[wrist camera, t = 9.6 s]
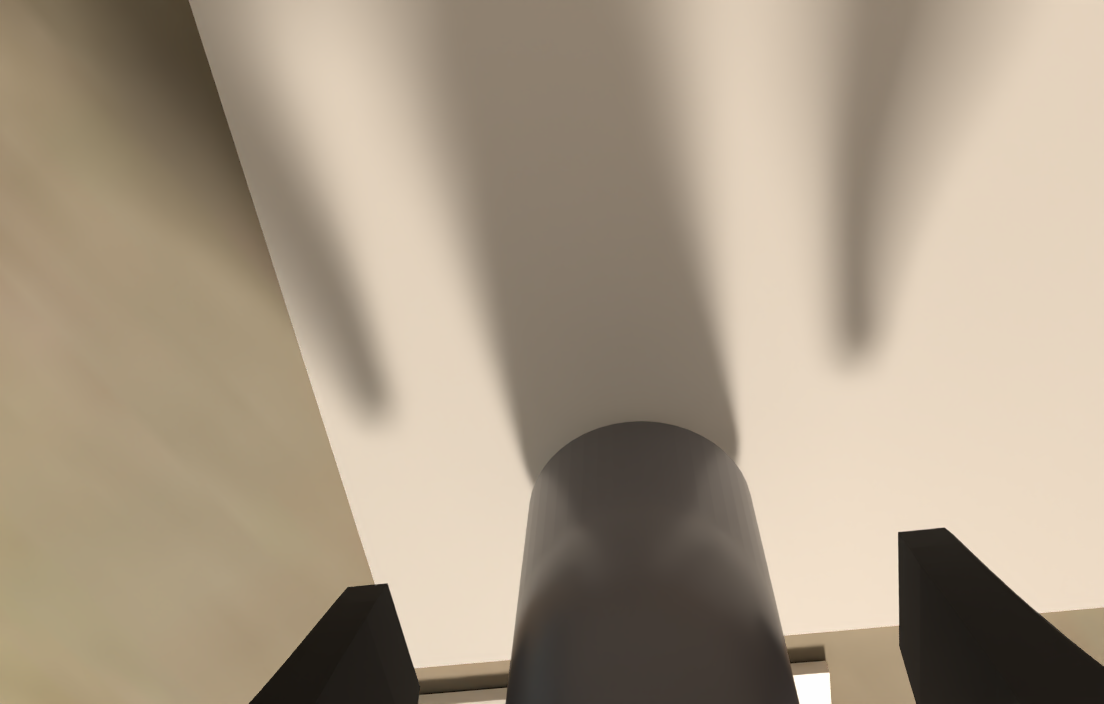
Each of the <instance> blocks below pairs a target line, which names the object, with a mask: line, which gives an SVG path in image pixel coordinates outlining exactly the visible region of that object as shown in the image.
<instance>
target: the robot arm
mask: <svg viewBox="0 0 1104 704" xmlns="http://www.w3.org/2000/svg"><path fill="white" fill-rule="evenodd" d="M898 578H899V646H900V650H901V653H902V657H903V660H904V664H905V667H906V671H907V674H908V677H909V681H910V684H911V688H912V691H913V694H914V697H915V701H916V704H1104V666H1102V665H1101V664H1100V663H1099V662H1097V661H1096V660H1095V659H1093V658H1092V657H1091V656H1089V655H1088V654H1087V653H1086V652H1084V651H1083V650H1082V649H1081V648H1079V647H1078V646H1077V645H1076V644H1075V643H1073V642H1072V641H1071V640H1070V639H1068V638H1067V637H1066V636H1065V635H1064V634H1062V633H1061V632H1060V631H1059V630H1058V629H1057V628H1055V627H1054V626H1053V625H1052V624H1051V623H1049V622H1048V621H1047V620H1046V619H1045V618H1044V617H1042V616H1041V615H1040V614H1039V613H1038V612H1037V611H1035V610H1034V609H1033V608H1032V607H1031V606H1029V605H1028V604H1027V603H1026V602H1025V601H1024V600H1023V599H1022V598H1021V597H1019V596H1018V595H1017V594H1016V593H1015V592H1014V591H1013V590H1012V589H1011V588H1009V587H1008V586H1007V585H1006V584H1005V583H1004V582H1003V581H1002V580H1001V579H1000V578H999V577H997V576H996V575H995V574H994V573H993V572H992V571H991V570H990V569H989V568H988V567H987V566H986V565H985V564H984V563H983V562H981V561H980V560H979V559H978V558H977V557H976V556H975V555H974V554H973V553H972V552H971V551H970V550H969V549H968V548H967V547H966V546H965V545H964V544H963V543H962V542H961V541H960V540H959V539H958V538H956V537H955V536H954V535H953V534H952V533H951V532H950V531H948V530H947V529H946V528H945V527H944V528H934V529H924V530H914V531H904V532H898ZM419 691H420V686H419V682H418V679H417V676H416V673H415V670H414V666H413V663H412V660H411V657H410V654H409V650H408V647H407V644H406V641H405V637H404V634H403V631H402V628H401V625H400V621H399V618H398V615H397V612H396V609H395V605H394V602H393V599H392V596H391V593H390V589H389V586H388V583H385V584H375V585H365V586H355V587H347V589H346V590H345V591H344V592H343V593H342V594H341V596H340V597H339V598H338V599H337V600H336V601H335V603H334V604H333V605H332V606H331V607H330V609H329V610H328V611H327V612H326V613H325V615H324V616H323V617H322V618H321V620H320V621H319V622H318V623H317V624H316V626H315V627H314V628H313V629H312V630H311V632H310V633H309V634H308V635H307V636H306V638H305V639H304V640H303V641H302V642H301V644H300V645H299V646H298V647H297V649H296V650H295V651H294V652H293V653H292V655H291V656H290V657H289V658H288V659H287V660H286V662H285V663H284V664H283V665H282V666H281V667H280V669H279V670H278V671H277V672H276V673H275V674H274V676H273V677H272V678H271V679H270V680H269V681H268V683H267V684H266V685H265V686H264V687H263V688H262V690H261V691H260V692H259V693H258V694H257V695H256V696H255V697H254V698H253V700H252V701H251V702H250V703H249V704H418V700H419Z"/></svg>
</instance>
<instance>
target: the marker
mask: <svg viewBox="0 0 1104 704" xmlns="http://www.w3.org/2000/svg"><path fill="white" fill-rule="evenodd" d="M505 704H800V703H799V699H798V694H797V690H796V686H795V682H794V677H793V673H792V669H791V664H790V660H789V656H788V652H787V647H786V643H785V639H784V635H783V630H782V626H781V622H780V618H779V613H778V609H777V605H776V601H775V596H774V592H773V588H772V583H771V579H770V575H769V571H768V566H767V562H766V558H765V554H764V549H763V545H762V541H761V537H760V532H759V528H758V524H757V520H756V515H755V511H754V507H753V502H752V498H751V494H750V491H749V488H748V485H747V482H746V480H745V478H744V476H743V474H742V472H741V471H740V469H739V468H738V466H737V465H736V464H735V462H734V461H733V460H732V459H731V458H730V457H729V456H728V455H727V454H726V453H725V451H723V450H722V449H721V448H720V447H718V446H717V445H716V444H714V443H713V442H711V441H710V440H708V439H706V438H705V437H703V436H701V435H699V434H697V433H695V432H693V431H690V430H688V429H685V428H682V427H678V426H675V425H671V424H665V423H660V422H648V421H636V422H623V423H617V424H612V425H608V426H604V427H601V428H597V429H595V430H592V431H590V432H588V433H585V434H583V435H581V436H579V437H578V438H576V439H574V440H572V441H571V442H569V443H568V444H567V445H565V446H564V447H563V448H561V449H560V450H559V451H558V452H557V453H556V454H555V455H554V456H553V457H552V458H551V459H550V460H549V461H548V463H547V464H546V465H545V466H544V468H543V469H542V471H541V473H540V474H539V476H538V478H537V480H536V482H535V485H534V487H533V490H532V493H531V498H530V503H529V511H528V520H527V528H526V536H525V545H524V553H523V561H522V570H521V578H520V586H519V595H518V603H517V611H516V620H515V628H514V636H513V645H512V653H511V661H510V670H509V678H508V686H507V695H506V703H505Z"/></svg>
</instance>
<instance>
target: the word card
mask: <svg viewBox="0 0 1104 704" xmlns="http://www.w3.org/2000/svg"><path fill="white" fill-rule="evenodd" d="M791 669H792V673H793V677H794V682H795V686H796V690H797V694H798V699H799V703H800V704H831V691H830V673H829V669H828V665H827V662H826V661H816V662H804V663H792V664H791ZM506 695H507V688H497V689H485V690H474V691H462V692H450V693H438V694H427V695H419V700H418V704H505V703H506Z"/></svg>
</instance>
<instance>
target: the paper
mask: <svg viewBox="0 0 1104 704" xmlns="http://www.w3.org/2000/svg"><path fill="white" fill-rule="evenodd" d="M189 3H190V6H191V9H192V12H193V15H194V19H195V22H196V25H197V28H198V31H199V34H200V37H201V40H202V44H203V47H204V50H205V53H206V56H207V59H208V62H209V66H210V69H211V72H212V75H213V78H214V81H215V84H216V87H217V91H218V94H219V97H220V100H221V103H222V106H223V109H224V113H225V116H226V119H227V122H228V125H229V128H230V131H231V134H232V138H233V141H234V144H235V147H236V150H237V153H238V156H239V160H240V163H241V166H242V169H243V172H244V175H245V178H246V181H247V185H248V188H249V191H250V194H251V197H252V200H253V203H254V207H255V210H256V213H257V216H258V219H259V222H260V225H261V228H262V232H263V235H264V238H265V241H266V244H267V247H268V250H269V254H270V257H271V260H272V263H273V266H274V269H275V272H276V276H277V279H278V282H279V285H280V288H281V291H282V294H283V297H284V301H285V304H286V307H287V310H288V313H289V316H290V319H291V323H292V326H293V329H294V332H295V335H296V338H297V341H298V344H299V348H300V351H301V354H302V357H303V360H304V363H305V366H306V370H307V373H308V376H309V379H310V382H311V385H312V388H313V391H314V395H315V398H316V401H317V404H318V407H319V410H320V413H321V417H322V420H323V423H324V426H325V429H326V432H327V435H328V438H329V442H330V445H331V448H332V451H333V454H334V457H335V460H336V464H337V467H338V470H339V473H340V476H341V479H342V482H343V485H344V489H345V492H346V495H347V498H348V501H349V504H350V507H351V511H352V514H353V517H354V520H355V523H356V526H357V529H358V532H359V536H360V539H361V542H362V545H363V548H364V551H365V554H366V558H367V561H368V564H369V567H370V570H371V573H372V576H373V579H374V583H375V584H385V583H388V586H389V589H390V593H391V596H392V599H393V602H394V605H395V609H396V612H397V615H398V618H399V621H400V625H401V628H402V631H403V634H404V637H405V641H406V644H407V647H408V650H409V654H410V657H411V660H412V663H413V666H414V668H423V667H435V666H446V665H457V664H468V663H480V662H491V661H502V660H511V653H512V645H513V636H514V628H515V620H516V611H517V603H518V595H519V586H520V578H521V570H522V561H523V553H524V545H525V536H526V528H527V520H528V511H529V503H530V498H531V493H532V490H533V487H534V485H535V482H536V480H537V478H538V476H539V474H540V473H541V471H542V469H543V468H544V466H545V465H546V464H547V463H548V461H549V460H550V459H551V458H552V457H553V456H554V455H555V454H556V453H557V452H558V451H559V450H560V449H561V448H563V447H564V446H565V445H567V444H568V443H569V442H571V441H572V440H574V439H576V438H578V437H579V436H581V435H583V434H585V433H588V432H590V431H592V430H595V429H597V428H601V427H604V426H608V425H612V424H617V423H623V422H636V421H648V422H660V423H665V424H671V425H675V426H678V427H682V428H685V429H688V430H690V431H693V432H695V433H697V434H699V435H701V436H703V437H705V438H706V439H708V440H710V441H711V442H713V443H714V444H716V445H717V446H718V447H720V448H721V449H722V450H723V451H725V453H726V454H727V455H728V456H729V457H730V458H731V459H732V460H733V461H734V462H735V464H736V465H737V466H738V468H739V469H740V471H741V472H742V474H743V476H744V478H745V480H746V482H747V485H748V488H749V491H750V494H751V498H752V502H753V507H754V511H755V515H756V520H757V524H758V528H759V532H760V537H761V541H762V545H763V549H764V554H765V558H766V562H767V566H768V571H769V575H770V579H771V583H772V588H773V592H774V596H775V601H776V605H777V609H778V613H779V618H780V622H781V626H782V630H783V635H784V636H785V635H796V634H808V633H819V632H830V631H841V630H853V629H864V628H875V627H887V626H898V625H899V578H898V532H904V531H914V530H924V529H934V528H944V527H945V528H946V529H947V530H948V531H950V532H951V533H952V534H953V535H954V536H955V537H956V538H958V539H959V540H960V541H961V542H962V543H963V544H964V545H965V546H966V547H967V548H968V549H969V550H970V551H971V552H972V553H973V554H974V555H975V556H976V557H977V558H978V559H979V560H980V561H981V562H983V563H984V564H985V565H986V566H987V567H988V568H989V569H990V570H991V571H992V572H993V573H994V574H995V575H996V576H997V577H999V578H1000V579H1001V580H1002V581H1003V582H1004V583H1005V584H1006V585H1007V586H1008V587H1009V588H1011V589H1012V590H1013V591H1014V592H1015V593H1016V594H1017V595H1018V596H1019V597H1021V598H1022V599H1023V600H1024V601H1025V602H1026V603H1027V604H1028V605H1029V606H1031V607H1032V608H1033V609H1034V610H1035V611H1037V612H1038V613H1045V612H1056V611H1067V610H1079V609H1090V608H1101V607H1104V0H189Z"/></svg>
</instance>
